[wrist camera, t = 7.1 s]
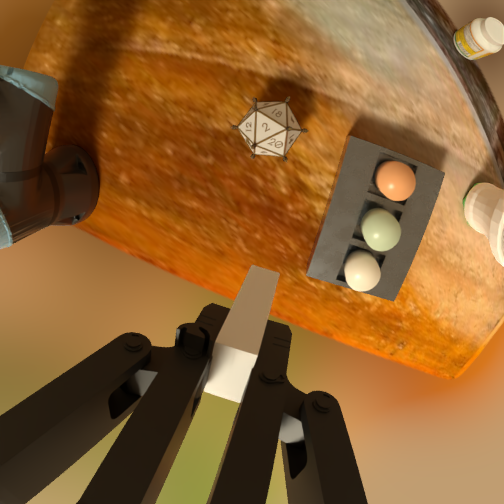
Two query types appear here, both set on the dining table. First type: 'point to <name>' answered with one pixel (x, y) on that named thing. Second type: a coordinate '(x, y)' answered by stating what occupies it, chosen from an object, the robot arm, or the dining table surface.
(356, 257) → the ivory button
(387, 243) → the sage button
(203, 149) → the dining table surface
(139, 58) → the dining table surface
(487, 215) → the cup
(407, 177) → the terracotta button
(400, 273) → the panel
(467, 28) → the supplement bottle
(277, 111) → the game die
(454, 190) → the dining table surface
